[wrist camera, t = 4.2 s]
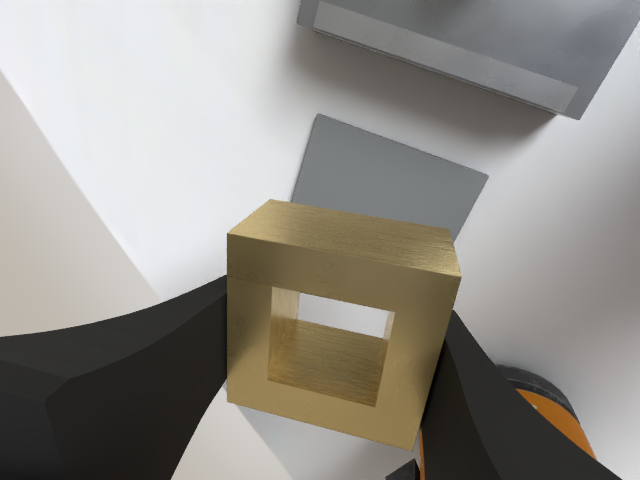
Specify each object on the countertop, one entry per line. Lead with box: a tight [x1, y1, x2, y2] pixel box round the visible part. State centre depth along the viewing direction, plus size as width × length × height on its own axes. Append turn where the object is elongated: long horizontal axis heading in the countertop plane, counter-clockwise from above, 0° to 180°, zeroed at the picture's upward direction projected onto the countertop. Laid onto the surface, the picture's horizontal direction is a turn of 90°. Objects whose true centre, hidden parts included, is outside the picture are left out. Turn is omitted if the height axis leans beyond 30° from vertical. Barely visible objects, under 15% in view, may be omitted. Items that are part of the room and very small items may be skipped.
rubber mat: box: [291, 114, 489, 243], centre depth 21 cm, size 9×9×1 cm
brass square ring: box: [227, 199, 461, 451], centre depth 11 cm, size 5×5×3 cm
